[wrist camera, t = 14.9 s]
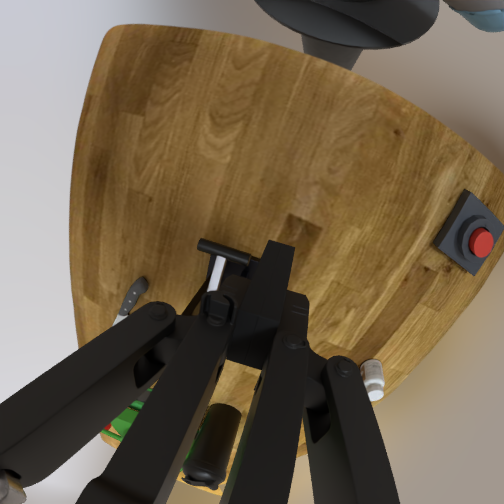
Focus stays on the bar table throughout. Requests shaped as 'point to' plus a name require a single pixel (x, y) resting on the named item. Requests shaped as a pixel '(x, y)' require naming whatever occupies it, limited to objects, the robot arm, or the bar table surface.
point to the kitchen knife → (131, 298)
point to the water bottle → (212, 447)
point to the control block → (467, 231)
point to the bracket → (228, 271)
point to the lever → (221, 259)
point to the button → (481, 242)
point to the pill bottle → (373, 378)
